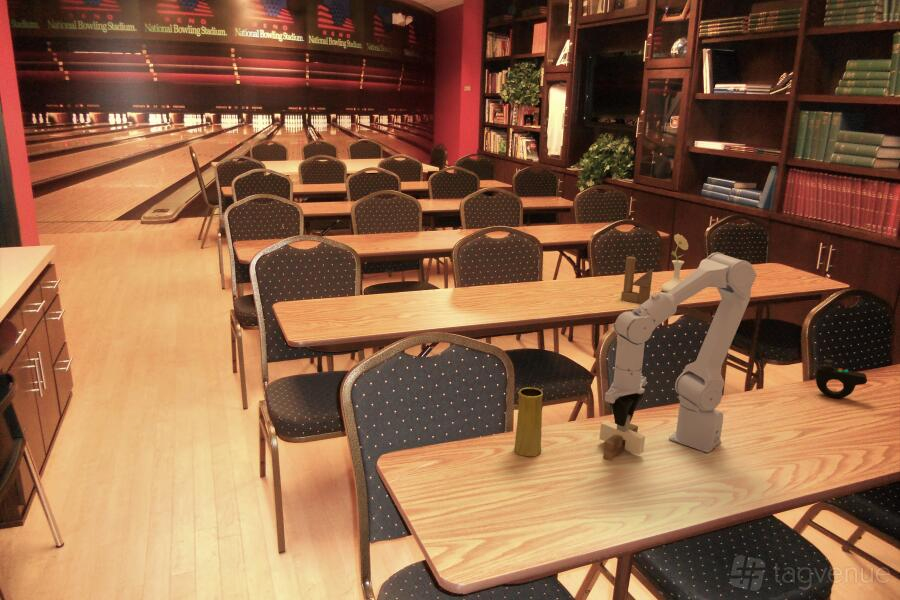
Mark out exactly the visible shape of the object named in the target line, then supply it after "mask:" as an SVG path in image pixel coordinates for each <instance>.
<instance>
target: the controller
mask: <svg viewBox="0 0 900 600" xmlns="http://www.w3.org/2000/svg"><path fill="white" fill-rule="evenodd" d="M823 362H824V364H823V363H822V364H817V365H816V367H815V368H816V370H815V371H814V376H813V378H815V383H816V387H817V388H818V390H819V391H820V392H821V393H822V394H823V395H825V396H827V397H829V398H832V399H842V398H843V399H844V398H846V397H848V396H849V395H851V394H852V393H853V391H854V390H855V388H856V386H861V385H862V386H863V385H865V384H867V382H868V377H867V374H866V373H863V372H859V371H852V370H848V369H843V368H842V367H839V368H838V367H835V366H833V363H834V361H833V360H831V359H824V360H823ZM832 380H833V381H834V380H836V381H838V382H840V383H841V384H842V387H843V388H841V390H838V391H834V390H831V389H830V388H829V387H828V385H827V383H829V381H832Z"/></svg>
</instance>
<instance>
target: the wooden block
mask: <svg viewBox="0 0 900 600" xmlns="http://www.w3.org/2000/svg"><path fill="white" fill-rule="evenodd" d="M636 260H637V258H636V257H635V256H626V259H625V270H624V271H625V272H624V281H623V282H624V283H623V291H621V295H620V296H621V297H620V300H621V301H623V300H624V301H623V302H628V301H629V303H634V304H638V305H641V304H643V303H644V302H645V301H647V300H648V299H650V298H651V288H652V280H653V272H654V271H653V268H651V269H650V270H648V271H646V272H645V273H644V274H643V275H642V276H641V277H639V278H638V279H637V280H635V281H634V278H635V270H636ZM634 286H636V287H639V289H638V292H637V291H633V290H634V289H633V288H634Z"/></svg>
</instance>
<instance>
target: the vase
mask: <svg viewBox="0 0 900 600" xmlns="http://www.w3.org/2000/svg"><path fill="white" fill-rule="evenodd" d="M543 396H544V393H543V390H541V389H540V388H536V387H523V388H521V389H519V391H518V407H517V408H518V409H517V417H516V418H517V421H516V431H515V442H514V448H513V449H514V452H515V453H517V454H518V456H519V455H520V456H521V457H522V456H523V457H528V458H529V457H531V458H532V457H533V458H534V457H536V456H538V455H541V453H542V425H543V424H542V423H543V422H542V421H543Z"/></svg>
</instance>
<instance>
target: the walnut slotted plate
mask: <svg viewBox="0 0 900 600" xmlns="http://www.w3.org/2000/svg"><path fill="white" fill-rule="evenodd" d="M638 428H639V426H638V425H635V424H633V423H630V426H629V430H631V431H634V432H637V433H639V431H638V430H639V429H638ZM622 438H623V437H621V436H618V435H615V434H614V435H613V436H611V437H610V438H608V439H607V440H606V441H603V442H604V443H603V444H604V445H603V454H602V458H604V459H606V460H608V461H613V460H614V459H615V458H617V457H618V456H620V455H621V454H622V453H623V452H625V451H626V450H625V442H626V440H623V439H622Z"/></svg>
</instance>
